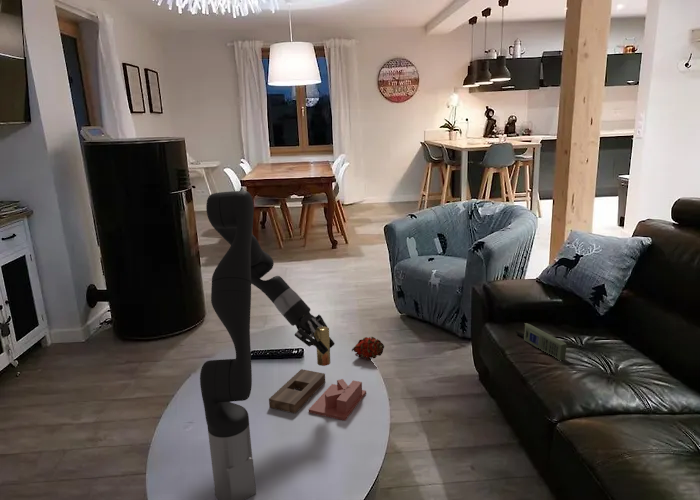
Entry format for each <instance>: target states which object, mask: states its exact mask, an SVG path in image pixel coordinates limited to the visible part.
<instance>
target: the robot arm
mask: <svg viewBox="0 0 700 500" xmlns="http://www.w3.org/2000/svg"><path fill="white" fill-rule="evenodd" d="M205 207H206V216H207V219H208V221H209V223H210V224H211V226H212V228H213V229H214V230H215V231H216V232H217V233H218V234H219V235H220V236H221V237H222V238H223V239H224V240H225V241H226V242H227V243H228V244H229V245H230V247H229V248H228V250H227V252H225V254H224V256H223V257H222V258H221V259H220V261H219V263H218V264H217V266H216V268H215V269H214V271H213V274H212V277H211V291H210V292H211V293H210V294H211V295H210V299H211V300H210V303H211V306H212V308H213V311H214V312H215V314H216V316H217V317H218V319H219V321H221V324H223V326H224V328H225V329H226V331H227V333H228V335H229V336H230V338H231V341H232V343H233V346H234V350H235V358H229V359H227V358H225V359H224V358H223V359H211V360H206V361H205V362H204V363H203V364H202V367H201V369H200V373H199V374H200V375H199V383H200V384H199V385H200V391H201V397H202V403H203V408H204V414H205V420H206V425H207V432H208V433H207V434H208V443H209V451H210V452H209V453H210V458H211V459H210V460H211V467H212V468H211V469H212V476H213V485H214V493H215V494H214V495H215V497H216V499H217V500H246V499H249V498H250V497H252V496H253V495H256V494H257V491H256V490H257V488H256V480H255V469H254V459H253V452H252V451H253V449H252V440H251V429H250V417H249V413H248V410H247V409H246V408H245V407H244V406H242V405H240V404H237V403H234V402H243V401H247V400H248V399H249V398H250V396H251V392H252V386H253V383H252V382H253V377H252V376H253V374H252V371H253V369H252V358H251V357H252V353H251V350H252V349H251V305H252V304H251V303H252V286H254V287H256V288H257V289H259V290H260V291H261V292H262V293H263V294H264V295H266V297H267V298H268V299H269V300H270V301H271V303H273V305H274V306H275V308H276V309H277V311H278V312H279V313H280V314H281V315H282V316H283V317H284V318H285V320H286V321H287V322H288V323H289V325H291V326H293V327H294V326H295V327H296V329H297V331H296V332H295V333H294V336H295V338H297V339H298V340H299V341H301V342H302V343H303V344H305V345H307V346H308V347H311V346H313V347H315V348H316V350H317V349H318V350H319V351H320V352H321V353H322V354H325V353H326V352H327V351H328V348H327V347H326V346H325V345H324V344H323V343H322V342H321V341H320V340H319V338H318V337H317V335H316V334H317V333H316V328H318V327H328V325H327V323H326V322H325V321H324V319H323V317H322V315H320V314H318V315H316V316H314V315H313V314H312V313H310V312H311V308H310V307H309V305H308V304H306V302H305V301H304V300H303V299H302V297H301V296H300V295H299V294H298V293H297V292H296V290H293V289H292V288H291V286H290V285H289V284H288V283H287V282H286V281H285V280H284V278H283V277H281V276H280V275H276V276H273V277H271V278H269V279H266V280H265V279H262V278H263V277H264V276H265V275H267V274H268V273H270V271H271V270H273V267H274V260H273V258H272V257H271V255H270V254H269V253H267V252H266V251H264V250H263V249H262V248H261V247H262V246H261V245H260V242H259V240H258V239H257V237H256V236H255V235H253V228H254V227H253V225H254V210H255V209H254V208H255V207H254V202H253V197H252V194H251V193H250V192H249V191H247V190H234V191H233V190H232V191H223V192H222V191H221V192H215V193H212V194H210V195H209V196H208V197H207V200H206V206H205ZM329 340H330V349H331V348H332V347H333V346H335V341H334V340H333V339H332V337H330V336H329Z"/></svg>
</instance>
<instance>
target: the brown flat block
mask: <svg viewBox="0 0 700 500" xmlns="http://www.w3.org/2000/svg"><path fill="white" fill-rule="evenodd" d="M325 383H326V373H323V372H317V371H313V370H307V369H303V368H301V369H299V370H298V372H296V373H295V374H294V375H293V376H292V377H291V378H290V379H288V380H287V382H285V383H284V384H283V385H282V386H281V387H280V388H279V389H278V390H277V391H276V392H274V393H273V394H272V395H271V396H270V397H268V405H269V408H270V409H274V410H279V411H282V412H287V413H291V414H297V412H298V411H300V409H301V408H302V407H303V406H304V405H305V404H306V403H307V402H308V401H309V400H310V399H311V398H312V397H313V396H314V394H315V393H317V391H318V390H319V389H320V388H321V387H322V386H323V385H324V384H325Z"/></svg>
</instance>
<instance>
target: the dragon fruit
mask: <svg viewBox="0 0 700 500" xmlns="http://www.w3.org/2000/svg"><path fill="white" fill-rule="evenodd" d="M384 349H385V344H384V343H383V342H382V341H381V340H380V339H378V338H377V339H376V338H375V337H374V336H369V337H367V336H366V337H363V338H362V339H359V340H358V341H357V343H356V344H355V346H353V347H352V349H351V352H355V356H356V357H358V358H366V360H367V361H370V360H371V359H376V358H377V357H378V356H382V355H383V352H384Z"/></svg>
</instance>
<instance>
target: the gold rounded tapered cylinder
mask: <svg viewBox="0 0 700 500" xmlns="http://www.w3.org/2000/svg"><path fill="white" fill-rule="evenodd" d="M316 333H317V334H316V335H317V337H318V338H319V340H320V341H321V342H322V343H323V344H324V345H325V346H326V347H327V348H328V351H327V352H326V353H325V354H322V353H321V352H320V351H319V350H318V349H317V348H316V361H317V362H316V363H317V365H318V366H322V367H327V366H329V365H330V364H331V348H330V340H329V337H330V327H328V326H327V327H323V326H322V327H318V328H316Z"/></svg>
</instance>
